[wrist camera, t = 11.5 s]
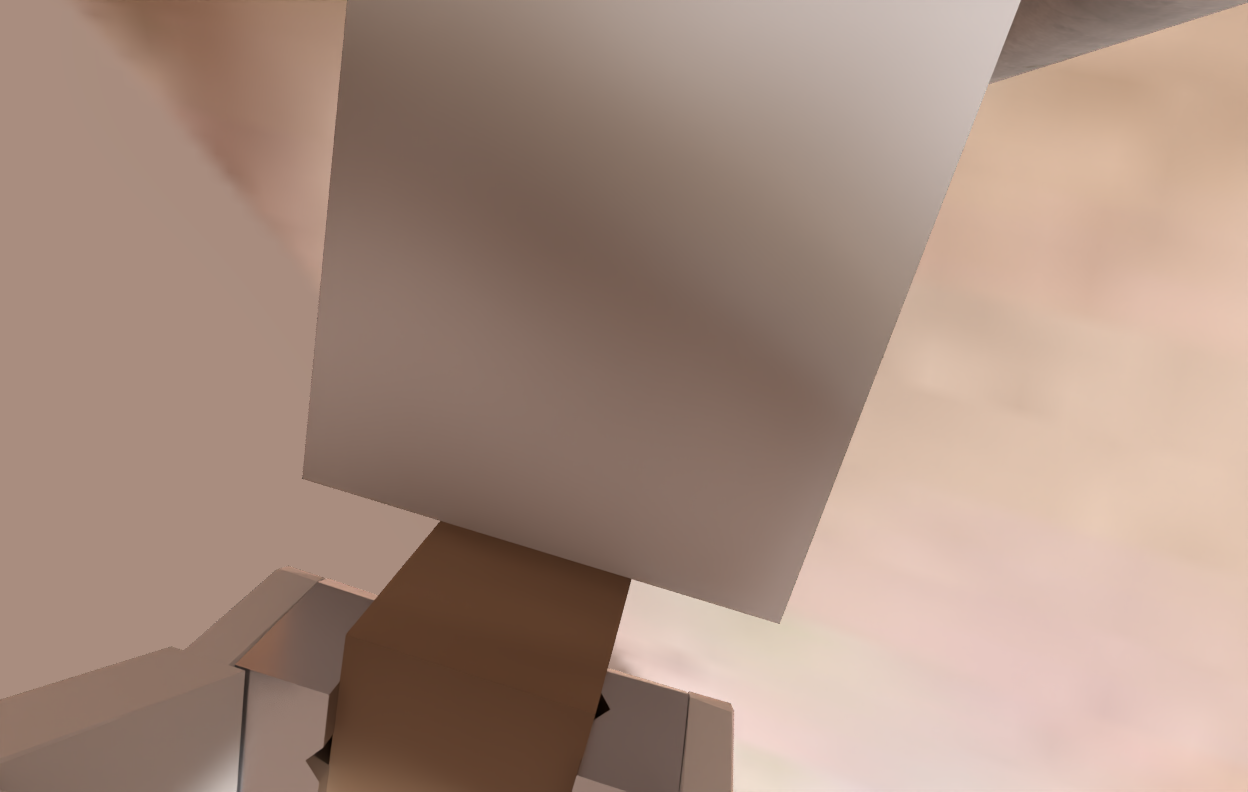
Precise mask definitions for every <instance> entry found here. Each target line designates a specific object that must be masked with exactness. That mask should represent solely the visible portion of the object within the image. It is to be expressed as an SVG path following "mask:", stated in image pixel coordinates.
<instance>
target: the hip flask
mask: <svg viewBox="0 0 1248 792" xmlns="http://www.w3.org/2000/svg"><path fill="white" fill-rule="evenodd" d="M1245 3H1248V0H1021V1H1020V4H1019V6H1018V9H1017V12H1016V14H1015V17H1014V19H1013V22H1012V25H1011V27H1010V30H1009V32H1008V35H1007V37H1006V40H1005V43H1004V45H1003V48H1002V50H1001V53H1000V56H999V58H998V61H997V63H996V66H995V68H994V71H993V74H992V76H991V79H990V81H989V84H991V83H994V82H997V81H1000V80H1004V79H1007V78H1010V77H1013V76H1016V75H1019V74H1023V73H1026V72H1029V71H1032V70H1035V69H1039V68H1042V67H1045V66H1048V65H1051V64H1054V63H1058V62H1061V61H1064V60H1067V59H1070V58H1073V57H1077V56H1080V55H1083V54H1086V53H1089V52H1092V51H1096V50H1099V49H1102V48H1105V47H1108V46H1111V45H1115V44H1118V43H1121V42H1124V41H1127V40H1131V39H1134V38H1137V37H1140V36H1143V35H1146V34H1150V33H1153V32H1156V31H1159V30H1162V29H1165V28H1169V27H1172V26H1175V25H1178V24H1181V23H1184V22H1188V21H1191V20H1194V19H1197V18H1200V17H1204V16H1207V15H1210V14H1213V13H1216V12H1219V11H1223V10H1226V9H1229V8H1232V7H1235V6H1238V5H1242V4H1245Z"/></svg>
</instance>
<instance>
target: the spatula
mask: <svg viewBox="0 0 1248 792" xmlns="http://www.w3.org/2000/svg"><path fill="white" fill-rule="evenodd" d="M1020 1H1021V0H347V8H346V19H345V29H344V40H343V51H342V61H341V72H340V83H339V93H338V104H337V115H336V125H335V136H334V146H333V157H332V168H331V178H330V189H329V200H328V210H327V221H326V232H325V242H324V253H323V263H322V274H321V285H320V295H319V306H318V317H317V328H316V338H315V349H314V359H313V371H312V381H311V392H310V403H309V412H308V413H309V414H308V424H307V434H306V444H305V455H304V466H303V477H302V479H305V480H308V481H311V482H315V483H318V484H322V485H325V486H328V487H332V488H334V489H338V490H341V491H344V492H348V493H351V494H354V495H358V496H361V497H364V498H368V499H371V500H374V501H377V502H381V503H384V504H388V505H390V506H394V507H397V508H400V509H404V510H407V511H410V512H413V513H417V514H420V515H423V516H426V517H430V518H433V519H437V520H440V522H439V523H438V525H437V526H436V527H435V528H434V530H433V531H432V532H431V533H430V534H429V535H428V537H427V538H426V539H425V540H424V541H423V543H422V544H421V545H420V546H419V547H418V549H417V550H416V551H415V552H414V553H413V555H412V556H411V557H410V558H409V559H408V561H407V562H406V563H405V564H404V565H403V567H402V568H401V569H400V570H399V571H398V573H397V574H396V575H395V576H394V577H393V579H392V580H391V581H390V582H389V583H388V584H387V586H386V587H385V588H384V589H383V591H382V592H381V593H380V594H379V595H378V596H377V598H376V599H375V600H374V601H373V602H372V604H371V605H370V606H369V607H368V608H367V610H366V611H365V612H364V613H363V614H362V616H361V617H360V618H359V619H358V620H357V622H356V623H355V624H354V625H353V626H352V628H351V629H350V630H349V631H348V632H347V634H346V636H345V644H344V652H343V659H342V667H341V675H340V686H339V695H338V703H337V712H336V721H335V729H334V733H333V737H332V745H331V752H330V760H329V766H330V769H329V776H328V783H327V791H326V792H571V791H572V787H573V784H574V781H575V777H576V774H577V771H578V767H579V764H580V761H581V759H582V758H583V755H584V752H585V748H586V745H587V741H588V738H589V734H590V731H591V728H592V724H593V721H594V717H595V714H596V710H597V706H598V703H599V699H600V695H601V691H602V688H603V684H604V680H605V676H606V673H607V669H608V665H609V661H610V658H611V654H612V650H613V646H614V643H615V639H616V635H617V631H618V628H619V624H620V620H621V616H622V613H623V609H624V605H625V601H626V598H627V594H628V590H629V586H630V582H631V579H634V580H637V581H640V582H643V583H647V584H650V585H653V586H657V587H660V588H663V589H667V590H670V591H673V592H676V593H680V594H683V595H686V596H690V597H693V598H696V599H699V600H703V601H706V602H709V603H713V604H716V605H719V606H722V607H726V608H729V609H732V610H736V611H739V612H742V613H745V614H749V615H752V616H755V617H759V618H762V619H765V620H768V621H772V622H775V623H778V624H780V621H781V619H782V616H783V614H784V611H785V609H786V606H787V603H788V601H789V598H790V596H791V593H792V590H793V588H794V585H795V583H796V580H797V578H798V575H799V572H800V570H801V567H802V565H803V562H804V559H805V557H806V554H807V552H808V549H809V546H810V544H811V541H812V539H813V536H814V534H815V531H816V528H817V526H818V523H819V521H820V518H821V515H822V513H823V510H824V508H825V505H826V503H827V500H828V497H829V495H830V492H831V490H832V487H833V484H834V482H835V479H836V477H837V474H838V472H839V469H840V466H841V464H842V461H843V459H844V456H845V453H846V451H847V448H848V446H849V443H850V441H851V438H852V435H853V433H854V430H855V428H856V425H857V422H858V420H859V417H860V415H861V412H862V410H863V407H864V404H865V402H866V399H867V397H868V394H869V391H870V389H871V386H872V384H873V381H874V379H875V376H876V373H877V371H878V368H879V366H880V363H881V360H882V358H883V355H884V353H885V350H886V348H887V345H888V342H889V340H890V337H891V335H892V332H893V329H894V327H895V324H896V322H897V319H898V317H899V314H900V311H901V309H902V306H903V304H904V301H905V298H906V296H907V293H908V291H909V288H910V286H911V283H912V280H913V278H914V275H915V273H916V270H917V267H918V265H919V262H920V260H921V257H922V255H923V252H924V249H925V247H926V244H927V242H928V239H929V236H930V234H931V231H932V229H933V226H934V224H935V221H936V218H937V216H938V213H939V211H940V208H941V205H942V203H943V200H944V198H945V195H946V192H947V190H948V187H949V185H950V182H951V180H952V177H953V174H954V172H955V169H956V167H957V164H958V161H959V159H960V156H961V154H962V151H963V149H964V146H965V143H966V141H967V138H968V136H969V133H970V130H971V128H972V125H973V123H974V120H975V118H976V115H977V112H978V110H979V107H980V105H981V102H982V99H983V97H984V94H985V92H986V89H987V87H988V84H989V81H990V79H991V76H992V74H993V71H994V68H995V66H996V63H997V61H998V58H999V56H1000V53H1001V50H1002V48H1003V45H1004V43H1005V40H1006V37H1007V35H1008V32H1009V30H1010V27H1011V25H1012V22H1013V19H1014V17H1015V14H1016V12H1017V9H1018V6H1019V4H1020Z"/></svg>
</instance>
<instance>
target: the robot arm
mask: <svg viewBox="0 0 1248 792" xmlns="http://www.w3.org/2000/svg"><path fill="white" fill-rule="evenodd" d="M377 596H378V595H376V594H373V593H370V592H367V591H364V590H361V589H358V588H355V587H352V586H349V585H346V584H344V583H340V582H338V581H335V580H332V579H329V578H327V579H325V578H323V577H320V576H318V575H314V574H311V573H309V572H306V571H303V570H300V569H297V568H294V567H291V566H287V567H283V568H280V569H277V570H275V571H274V572H273V573H272V574H271V575H270V576H268V577H267V578H266V579H265V580H264V581H263V582H262V583H260V584H259V585H258V586H257V587H256V588H255V589H254V590H252V591H251V592H250V593H249V594H248V595H247V596H246V597H244V598H243V599H242V600H241V601H240V602H239V603H238V604H236V605H235V606H234V607H233V608H232V609H231V610H229V611H228V612H227V613H226V614H225V615H224V616H223V617H222V618H220V619H219V620H218V621H217V622H216V623H215V624H213V625H212V626H211V627H210V628H209V629H208V630H207V631H205V632H204V633H203V634H202V635H201V636H200V637H199V638H197V639H196V640H195V641H194V642H193V643H192V644H191V645H189V647H187V648H186V649H185V650H180V649H177V648H174V647H168V648H165V649H161V650H158V651H155V652H152V653H149V654H146V655H142V656H139V657H136V658H132V659H129V660H126V661H123V662H120V663H116V664H113V665H110V666H107V667H103V668H101V669H97V670H94V671H91V672H88V673H85V674H81V675H78V676H75V677H71V678H68V679H65V680H62V681H59V682H56V683H52V684H49V685H46V686H43V687H39V688H36V689H33V690H30V691H26V692H23V693H20V694H17V695H13V696H10V697H7V698H4V699H1V700H0V792H326V791H327V783H328V776H329V769H330V766H329V760H330V752H331V745H332V737H333V733H334V729H335V721H336V712H337V703H338V695H339V686H340V675H341V667H342V659H343V652H344V644H345V636H346V634H347V632H348V631H349V630H350V629H351V628H352V626H353V625H354V624H355V623H356V622H357V620H358V619H359V618H360V617H361V616H362V614H363V613H364V612H365V611H366V610H367V608H368V607H369V606H370V605H371V604H372V602H373V601H374V600H375V599H376V598H377ZM733 739H734V710H733V708H732V706H731V703H727V702H724V701H720V700H717V699H713V698H710V697H707V696H703V695H700V694H696V693H693V692H688V693H687V692H686V691H682V690H679V689H676V688H673V687H669V686H666V685H663V684H659V683H656V682H653V681H650V680H646V679H643V678H640V677H636V676H633V675H630V674H627V673H623V672H620V671H617V670H613V669H610V668H608V669H607V673H606V676H605V680H604V684H603V688H602V691H601V695H600V699H599V703H598V706H597V710H596V714H595V717H594V721H593V724H592V728H591V731H590V734H589V738H588V741H587V745H586V748H585V752H584V755H583V758H582V759H581V761H580V764H579V767H578V771H577V774H576V777H575V781H574V784H573V787H572V791H571V792H733Z"/></svg>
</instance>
